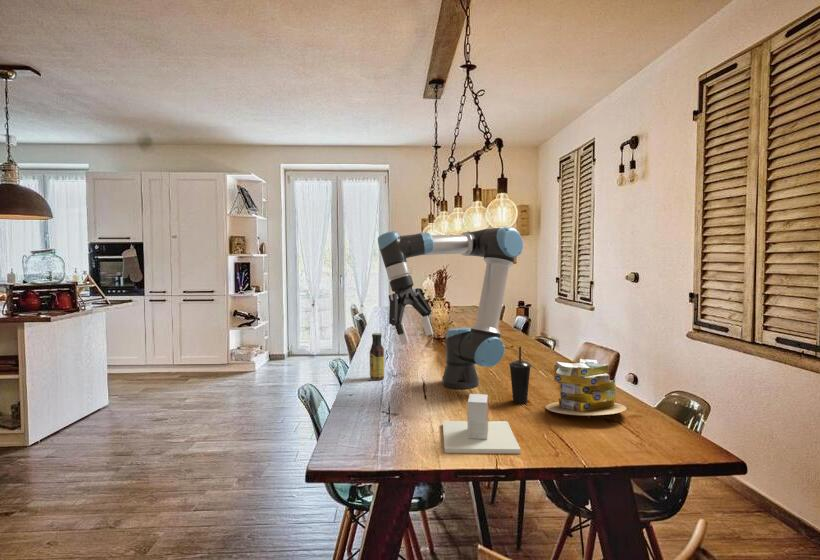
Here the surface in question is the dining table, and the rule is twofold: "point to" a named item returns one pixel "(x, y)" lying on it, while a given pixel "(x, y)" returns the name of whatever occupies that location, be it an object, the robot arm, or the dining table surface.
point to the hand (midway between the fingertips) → (418, 339)
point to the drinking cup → (520, 379)
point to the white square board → (496, 441)
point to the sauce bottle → (376, 358)
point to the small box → (477, 416)
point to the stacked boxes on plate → (585, 390)
